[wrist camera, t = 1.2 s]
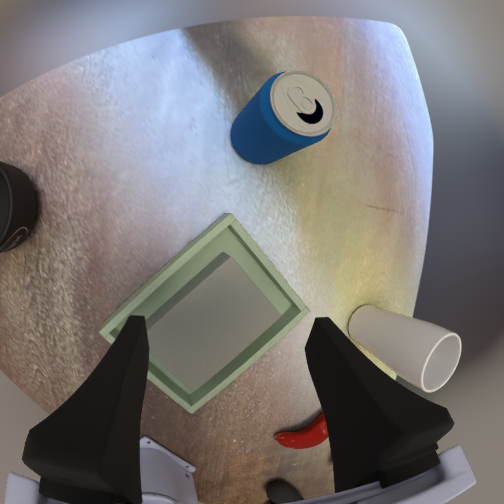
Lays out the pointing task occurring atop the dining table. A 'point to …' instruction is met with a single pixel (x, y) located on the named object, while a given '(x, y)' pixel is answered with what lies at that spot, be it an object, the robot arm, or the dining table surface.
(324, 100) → the beverage can
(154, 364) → the tray
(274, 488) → the dark grey handheld tool
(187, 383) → the grey block
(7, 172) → the mug
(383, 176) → the dining table surface
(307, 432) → the vegetable
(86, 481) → the robot arm
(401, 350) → the drinking glass
